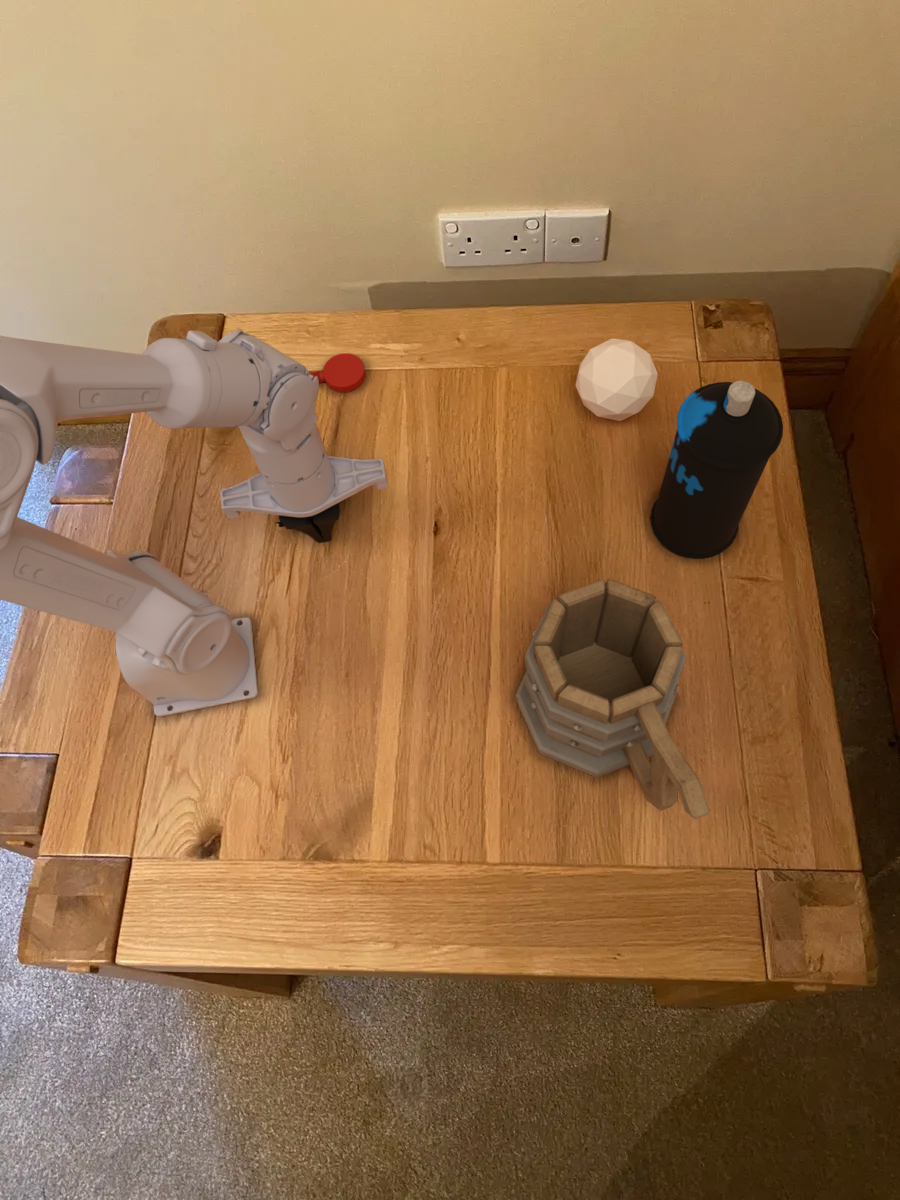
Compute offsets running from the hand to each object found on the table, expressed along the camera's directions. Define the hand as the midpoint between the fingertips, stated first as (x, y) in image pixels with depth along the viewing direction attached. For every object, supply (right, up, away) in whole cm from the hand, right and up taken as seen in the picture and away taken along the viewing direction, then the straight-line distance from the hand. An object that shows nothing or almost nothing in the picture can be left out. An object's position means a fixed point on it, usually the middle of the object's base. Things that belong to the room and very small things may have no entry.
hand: (323, 533), depth 86 cm
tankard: (+26, -19, -9) cm, 33 cm away
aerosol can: (+35, +1, -1) cm, 36 cm away
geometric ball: (+29, +14, +5) cm, 32 cm away
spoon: (-5, +16, +9) cm, 19 cm away
